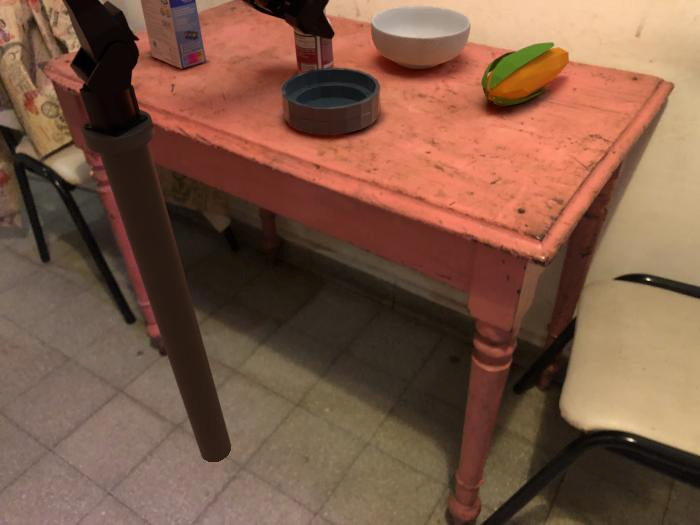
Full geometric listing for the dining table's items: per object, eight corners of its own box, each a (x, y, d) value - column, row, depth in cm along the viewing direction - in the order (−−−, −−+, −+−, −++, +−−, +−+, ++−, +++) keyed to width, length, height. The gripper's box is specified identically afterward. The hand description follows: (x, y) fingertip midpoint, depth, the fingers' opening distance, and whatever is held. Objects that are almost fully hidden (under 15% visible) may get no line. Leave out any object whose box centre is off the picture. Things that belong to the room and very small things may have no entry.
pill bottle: (326, 64, 103) (323, -3, 96) (339, 76, 99) (336, 8, 92) (292, 70, 102) (286, 3, 95) (304, 83, 97) (298, 14, 90)
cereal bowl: (449, 86, 95) (453, 42, 90) (355, 72, 100) (354, 29, 96) (478, 50, 107) (482, 9, 102) (392, 39, 112) (393, -1, 108)
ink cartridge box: (208, 61, 106) (193, -26, 97) (183, 70, 103) (164, -19, 94) (177, 49, 111) (159, -35, 102) (151, 57, 108) (130, -29, 99)
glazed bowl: (353, 146, 81) (352, 116, 78) (265, 127, 86) (262, 97, 83) (394, 104, 90) (395, 76, 87) (313, 89, 95) (311, 62, 92)
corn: (471, 55, 84) (551, 21, 94) (463, 104, 89) (539, 67, 99) (514, 73, 80) (592, 35, 90) (503, 123, 85) (578, 82, 95)
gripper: (312, -75, 77) (379, -3, 89) (246, -93, 89) (313, -27, 101) (267, 1, 79) (339, 62, 91) (208, -27, 91) (278, 30, 102)
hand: (316, 28), depth 96 cm, fingers open, 9 cm apart
